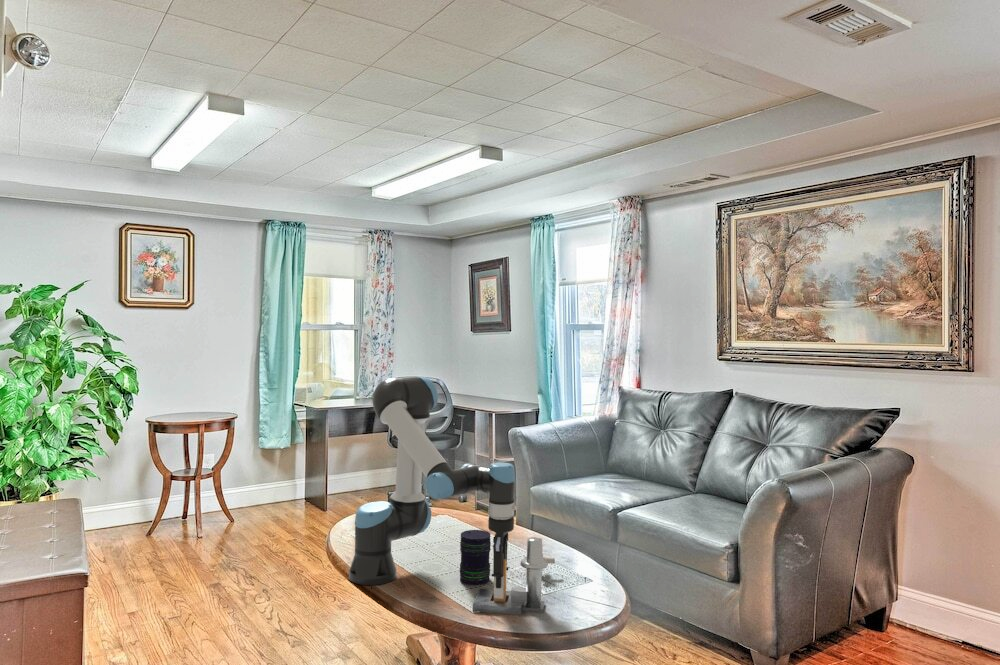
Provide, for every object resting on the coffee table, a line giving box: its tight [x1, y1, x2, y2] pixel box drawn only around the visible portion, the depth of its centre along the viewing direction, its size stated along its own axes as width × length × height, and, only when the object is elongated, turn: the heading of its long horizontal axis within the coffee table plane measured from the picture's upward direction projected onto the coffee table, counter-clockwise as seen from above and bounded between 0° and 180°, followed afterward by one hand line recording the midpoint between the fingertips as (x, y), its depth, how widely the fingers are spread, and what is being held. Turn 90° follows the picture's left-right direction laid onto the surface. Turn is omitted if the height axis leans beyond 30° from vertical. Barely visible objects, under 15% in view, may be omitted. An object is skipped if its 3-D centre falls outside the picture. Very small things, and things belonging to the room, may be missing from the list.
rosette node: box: [472, 536, 549, 616], centre depth 205 cm, size 21×12×20 cm, turn 81°
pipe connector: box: [523, 544, 556, 565], centre depth 231 cm, size 10×10×10 cm
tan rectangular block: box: [494, 558, 508, 602], centre depth 206 cm, size 3×3×12 cm
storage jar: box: [459, 529, 492, 587], centre depth 225 cm, size 10×10×15 cm
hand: (499, 595), depth 206 cm, fingers open, 3 cm apart
